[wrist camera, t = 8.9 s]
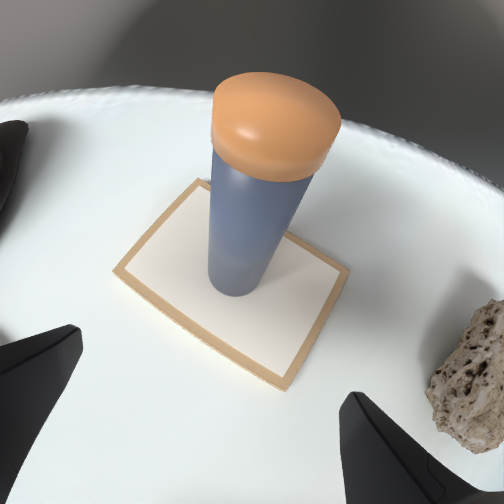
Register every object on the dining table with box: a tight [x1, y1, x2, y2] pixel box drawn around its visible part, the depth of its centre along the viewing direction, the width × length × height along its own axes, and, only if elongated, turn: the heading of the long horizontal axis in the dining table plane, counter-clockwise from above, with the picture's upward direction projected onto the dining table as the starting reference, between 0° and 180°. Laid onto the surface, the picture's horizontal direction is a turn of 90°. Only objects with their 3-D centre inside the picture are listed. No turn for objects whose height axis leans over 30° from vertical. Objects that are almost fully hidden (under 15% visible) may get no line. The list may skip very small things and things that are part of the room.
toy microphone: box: [208, 72, 341, 297], centre depth 13 cm, size 4×4×13 cm
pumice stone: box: [425, 299, 504, 454], centre depth 15 cm, size 14×12×8 cm
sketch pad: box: [113, 178, 350, 392], centre depth 19 cm, size 14×10×1 cm
